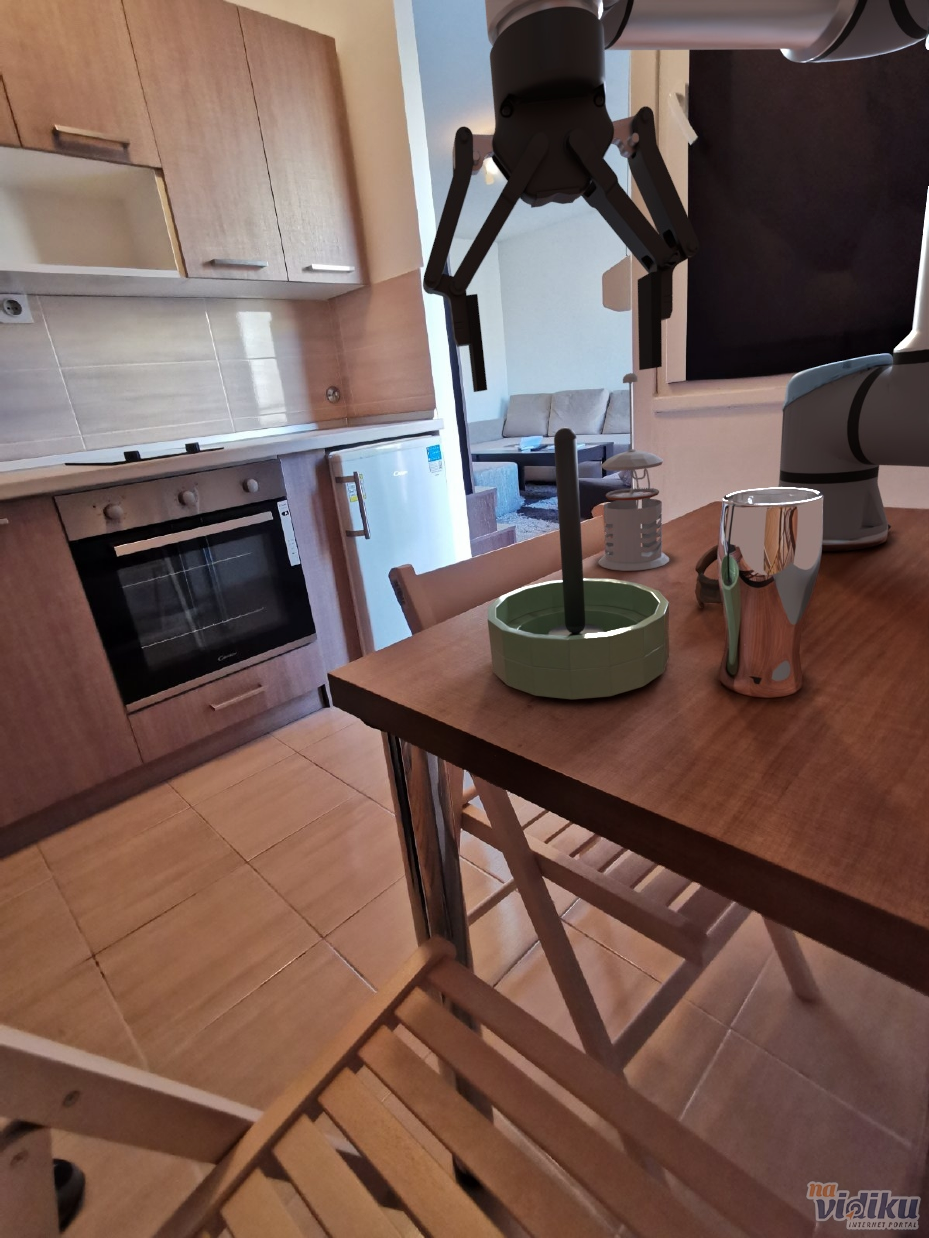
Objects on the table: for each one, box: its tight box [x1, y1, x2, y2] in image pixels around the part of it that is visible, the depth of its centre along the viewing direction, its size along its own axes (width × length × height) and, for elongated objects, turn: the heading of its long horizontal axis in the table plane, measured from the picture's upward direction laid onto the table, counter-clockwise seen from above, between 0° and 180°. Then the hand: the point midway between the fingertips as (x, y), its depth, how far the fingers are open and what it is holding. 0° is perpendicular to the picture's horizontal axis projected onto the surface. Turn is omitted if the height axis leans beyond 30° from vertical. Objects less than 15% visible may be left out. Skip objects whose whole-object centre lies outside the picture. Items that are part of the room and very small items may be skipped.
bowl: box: [487, 577, 670, 700], centre depth 53 cm, size 16×16×6 cm
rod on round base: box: [548, 427, 604, 636], centre depth 51 cm, size 5×5×20 cm
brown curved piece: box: [694, 544, 722, 609], centre depth 64 cm, size 12×10×8 cm
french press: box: [597, 372, 670, 572], centre depth 81 cm, size 10×12×25 cm
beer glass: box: [716, 487, 824, 699], centre depth 45 cm, size 7×7×15 cm
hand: (565, 380), depth 46 cm, fingers open, 13 cm apart
